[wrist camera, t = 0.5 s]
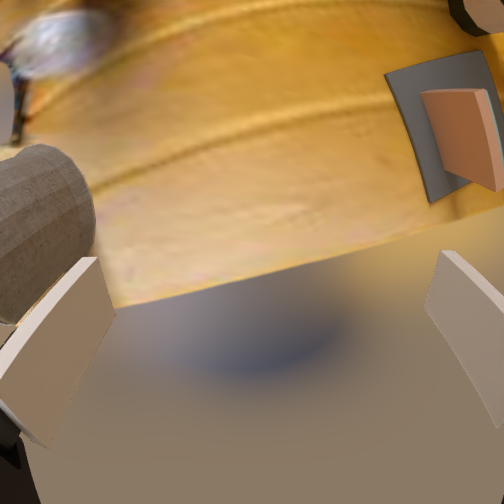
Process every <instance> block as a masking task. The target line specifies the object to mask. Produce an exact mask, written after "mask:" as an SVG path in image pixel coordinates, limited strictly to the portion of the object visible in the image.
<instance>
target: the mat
mask: <svg viewBox="0 0 504 504" xmlns="http://www.w3.org/2000/svg"><path fill="white" fill-rule="evenodd" d="M384 76H385V79H386V81H387V83H388V85H389V87H390V89H391V92H392V94H393V96H394V99H395V101H396V103H397V106H398V108H399V111H400V113H401V116H402V118H403V121H404V123H405V126H406V129H407V132H408V134H409V137H410V140H411V143H412V146H413V149H414V152H415V155H416V158H417V162H418V165H419V168H420V172H421V175H422V179H423V183H424V186H425V190H426V194H427V198H428V202H430V203H432V202H434V201H436V200H438V199H440V198H442V197H444V196H446V195H448V194H449V193H451V192H453V191H455V190H457V189H459V188H461V187H463V186H464V185H466V184H468V183H470V182H472V181H470V180H468V179H465V178H463V177H461V176H458V175H456V174H453V173H451V172H448V171H446V170H444V168H443V164H442V160H441V156H440V153H439V149H438V146H437V142H436V139H435V136H434V133H433V129H432V126H431V123H430V120H429V118H428V115H427V112H426V109H425V107H424V104H423V101H422V99H421V96H420V94H419V93H421V92H424V91H427V90H436V89H485V90H487V92H488V95H489V99H490V102H491V105H492V109H493V113H494V116H495V120H496V124H497V128H498V133H499V137H500V142H501V147H502V153H503V159H504V116H503V112H502V108H501V104H500V101H499V97H498V94H497V91H496V88H495V84H494V81H493V78H492V76H491V73H490V70H489V67H488V65H487V62H486V59H485V57H484V54H483V52H482V50H478V51H473V52H467V53H462V54H458V55H453V56H448V57H444V58H440V59H436V60H432V61H428V62H424V63H420V64H417V65H413V66H410V67H406V68H403V69H400V70H396V71H393V72H390V73H387V74H384Z"/></svg>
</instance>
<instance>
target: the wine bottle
mask: <svg viewBox="0 0 504 504" xmlns="http://www.w3.org/2000/svg"><path fill="white" fill-rule="evenodd" d="M448 4H449V9H450V14H451V16H452V17H453V18H454V19H455V21H456V22H457V23H458V25H459V26H460V27H461V29H462V30H463V31H465V32H467V33H469V34H471V35H473V36H475V37H477V36H482V35H487V34H493V33H500V32H504V0H448Z"/></svg>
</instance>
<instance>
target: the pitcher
mask: <svg viewBox="0 0 504 504" xmlns="http://www.w3.org/2000/svg"><path fill="white" fill-rule="evenodd" d="M95 223H96V219H95V213H94V206H93V198H92V196H91V193H90V190H89V188H88V185H87V183H86V180H85V177H84V175H83V174H82V172H81V171H80V170H79V168H78V167H77V165H76V164H75V163H74V161H73V160H72V158H71V157H69V156H68V155H67V154H65V153H64V152H63V151H61V150H60V149H59V148H57V147H55V146H51V145H47V144H43V143H39V144H35V145H31V146H27V147H25V148H24V149H23V150H22V151H20V152H19V153H18V154H17V155H16V156H14V157H13V158H9V159H6V160H4V161H1V162H0V324H2V325H5V326H12V325H16V324H17V323H18V322H19V320H20V319H21V318H22V317H23V316H24V314H25V313H26V312H27V311H28V310H29V309H30V308H31V306H32V305H33V304H34V303H35V302H36V301H37V300H38V299H39V297H40V296H41V295H42V294H43V293H44V292H45V291H46V290H47V289H48V288H49V287H50V286H51V285H52V284H53V282H54V281H55V280H56V279H57V278H58V277H59V276H60V275H61V274H62V273H64V272H67V271H69V270H70V269H71V268H72V267H73V266H74V265H75V264H76V263H77V262H78V261H79V260H80V259H81V258H82V257H87V256H88V254H89V251H90V249H91V246H92V244H93V242H94V232H95Z"/></svg>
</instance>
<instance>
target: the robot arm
mask: <svg viewBox="0 0 504 504" xmlns="http://www.w3.org/2000/svg"><path fill="white" fill-rule="evenodd" d="M423 308H424V310H425V311H426V312H427V314H428V315H429V317H430V318H431V319H432V321H433V322H434V324H435V325H436V327H437V328H438V330H439V331H440V333H441V334H442V335H443V337H444V338H445V340H446V341H447V343H448V344H449V346H450V347H451V349H452V351H453V352H454V354H455V355H456V357H457V359H458V360H459V362H460V363H461V365H462V366H463V368H464V370H465V372H466V373H467V375H468V377H469V378H470V380H471V382H472V384H473V385H474V387H475V389H476V391H477V392H478V394H479V396H480V398H481V399H482V401H483V403H484V405H485V407H486V409H487V411H488V412H489V415H490V417H491V418H492V421H493V423H494V424H495V427H496V428H498V427H499V426H501V425H503V424H504V297H503V295H502V294H501V293H499V291H498V290H496V288H494V287H493V286H492V285H491V284H490V283H489V282H488V281H487V280H486V279H485V278H484V277H483V276H482V275H481V274H480V273H479V272H478V271H476V270H475V269H474V268H473V267H472V266H471V265H470V264H469V263H468V262H467V261H465V260H464V259H463V258H462V257H461V256H460V255H458V254H457V253H456V252H455V251H454V250H441V251H440V253H439V257H438V260H437V264H436V268H435V271H434V275H433V278H432V282H431V285H430V288H429V291H428V294H427V298H426V300H425V303H424V307H423ZM115 316H116V314H115V312H114V308H113V306H112V302H111V299H110V296H109V293H108V290H107V287H106V283H105V280H104V277H103V273H102V270H101V266H100V262H99V259H98V257H82V258H81V259H80V260H79V261H78V262H77V263H76V264H75V265H74V266H73V267H72V268H71V269H70V270H69V271H68V272H67V273H66V274H65V275H64V276H63V277H62V278H61V279H60V281H59V282H58V283H57V284H56V285H55V286H54V287H53V288H52V289H51V290H50V291H49V292H48V293H47V295H46V296H45V297H44V298H43V299H42V300H41V301H40V302H39V303H38V305H37V306H36V307H35V308H34V309H33V310H32V312H31V313H30V314H29V315H28V316H27V317H26V319H25V320H24V321H23V322H22V323H21V325H20V326H19V327H18V328H17V329H16V330H14V331H13V332H12V333H11V334H10V336H9V337H8V338H7V340H6V341H5V344H3V345H2V346H1V347H0V504H41V503H40V500H39V497H38V494H37V491H36V488H35V485H34V482H33V478H32V475H31V471H30V468H29V464H28V460H27V456H26V452H25V447H24V444H23V441H22V439H21V438H20V437H19V434H20V432H21V431H22V432H23V433H24V434H25V435H26V436H27V437H28V438H29V439H30V440H31V441H32V442H34V443H36V444H38V445H41V446H43V447H45V448H47V449H49V448H50V446H51V443H52V441H53V439H54V436H55V434H56V431H57V429H58V427H59V425H60V422H61V420H62V418H63V416H64V414H65V411H66V409H67V407H68V405H69V403H70V400H71V399H72V397H73V394H74V392H75V390H76V388H77V386H78V384H79V382H80V380H81V378H82V376H83V374H84V372H85V370H86V369H87V367H88V365H89V363H90V361H91V359H92V357H93V355H94V354H95V352H96V350H97V348H98V346H99V344H100V343H101V341H102V339H103V337H104V335H105V334H106V332H107V330H108V328H109V327H110V325H111V323H112V321H113V320H114V318H115ZM501 504H504V497H503V500H502V503H501Z"/></svg>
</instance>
